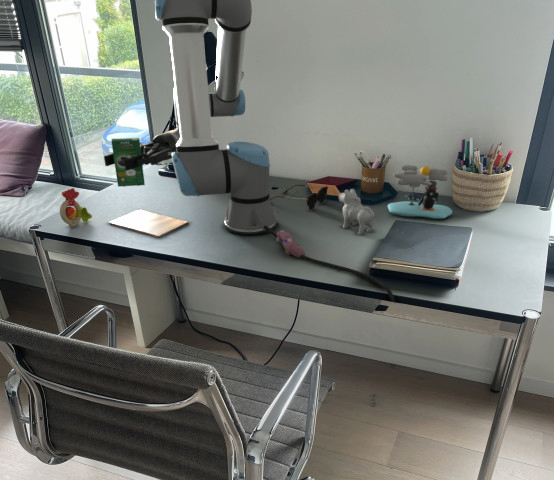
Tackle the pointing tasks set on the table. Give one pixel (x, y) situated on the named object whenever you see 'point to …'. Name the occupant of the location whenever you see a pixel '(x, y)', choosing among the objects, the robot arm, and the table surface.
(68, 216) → the bird rattle
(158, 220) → the wooden board
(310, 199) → the sunglasses
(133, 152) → the coffee box
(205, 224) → the table surface
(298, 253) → the pink animal figurine
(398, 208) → the penguin figurine
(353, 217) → the dog figurine
